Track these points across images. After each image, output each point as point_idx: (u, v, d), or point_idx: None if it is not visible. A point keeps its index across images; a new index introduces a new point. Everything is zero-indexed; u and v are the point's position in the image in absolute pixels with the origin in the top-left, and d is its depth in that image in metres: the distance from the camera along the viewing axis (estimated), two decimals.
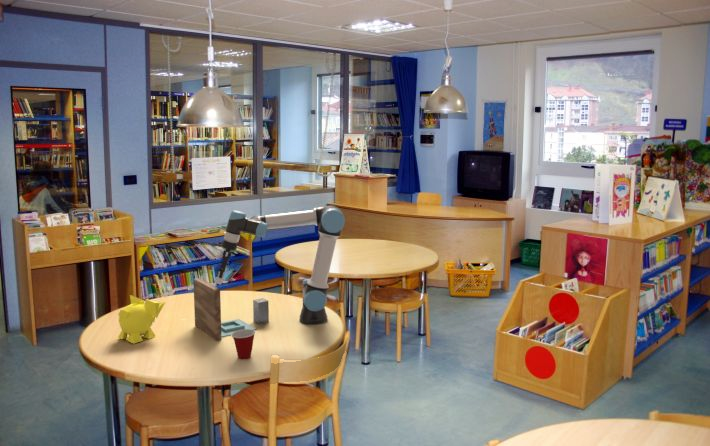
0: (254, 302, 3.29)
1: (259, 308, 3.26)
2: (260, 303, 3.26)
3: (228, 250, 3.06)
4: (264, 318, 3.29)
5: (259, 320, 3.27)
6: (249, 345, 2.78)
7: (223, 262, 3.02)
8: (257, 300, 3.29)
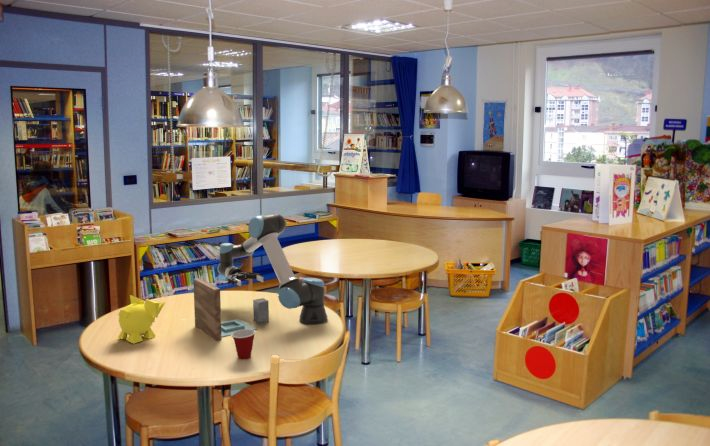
0: (254, 302, 3.29)
1: (259, 308, 3.26)
2: (260, 303, 3.26)
3: (231, 275, 3.46)
4: (264, 318, 3.29)
5: (259, 320, 3.27)
6: (249, 345, 2.78)
7: None
8: (257, 300, 3.29)
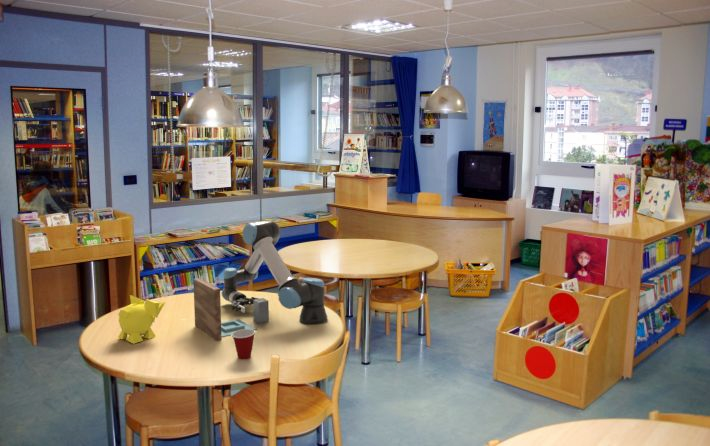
0: (254, 302, 3.29)
1: (259, 308, 3.26)
2: (260, 303, 3.26)
3: None
4: (264, 318, 3.29)
5: (259, 320, 3.27)
6: (249, 345, 2.78)
7: None
8: (257, 300, 3.29)
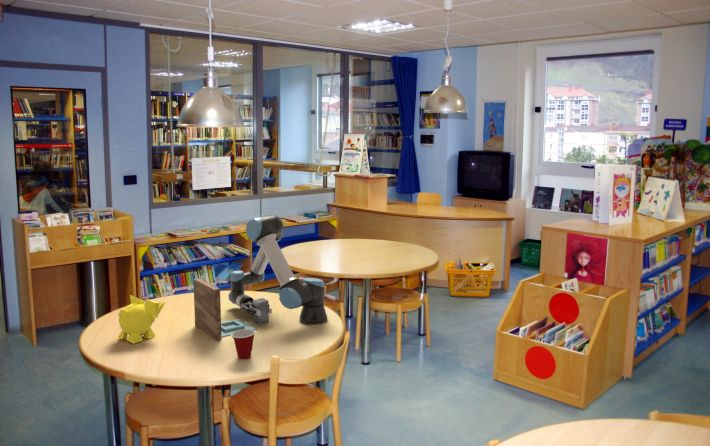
0: (254, 302, 3.29)
1: (259, 308, 3.26)
2: (260, 303, 3.26)
3: (242, 304, 3.38)
4: (264, 318, 3.29)
5: (259, 320, 3.27)
6: (249, 345, 2.78)
7: (244, 309, 3.32)
8: (257, 300, 3.29)
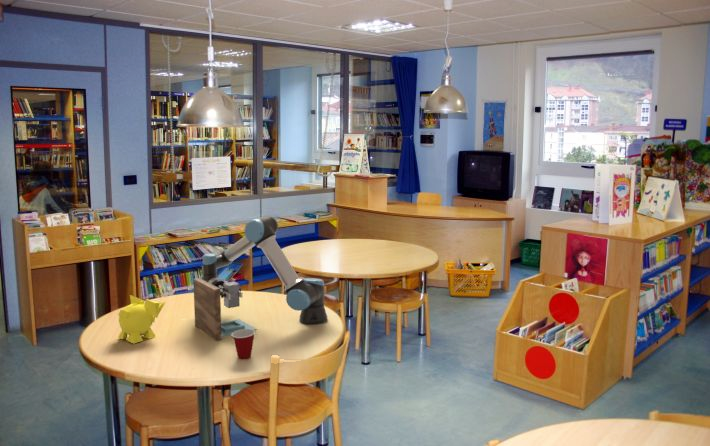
0: (224, 286, 3.18)
1: (229, 291, 3.15)
2: (230, 286, 3.15)
3: None
4: (234, 302, 3.18)
5: (229, 304, 3.16)
6: (249, 345, 2.78)
7: None
8: (227, 283, 3.18)
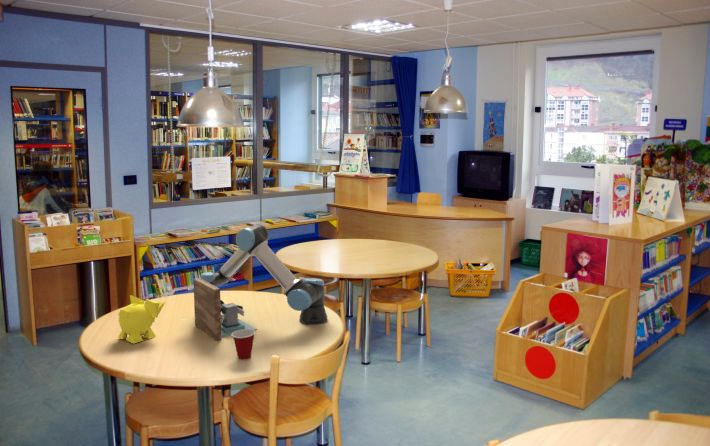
0: (223, 307, 3.18)
1: (228, 313, 3.16)
2: (229, 308, 3.15)
3: None
4: (233, 323, 3.18)
5: (228, 326, 3.17)
6: (249, 345, 2.78)
7: None
8: (226, 305, 3.18)
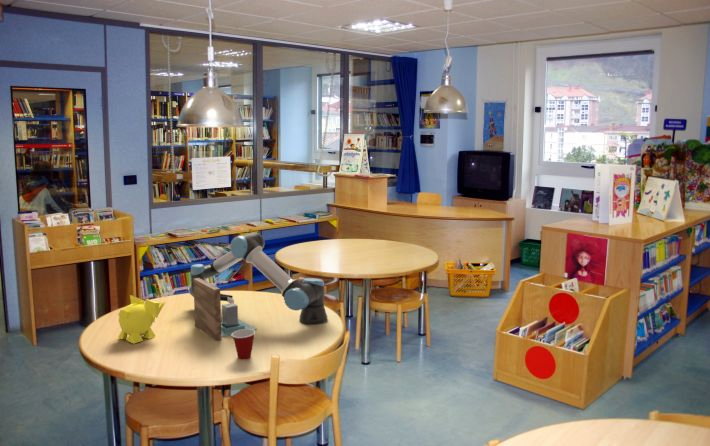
0: (223, 307, 3.18)
1: (228, 313, 3.16)
2: (229, 308, 3.15)
3: None
4: (233, 323, 3.18)
5: (228, 326, 3.17)
6: (249, 345, 2.78)
7: None
8: (226, 305, 3.18)
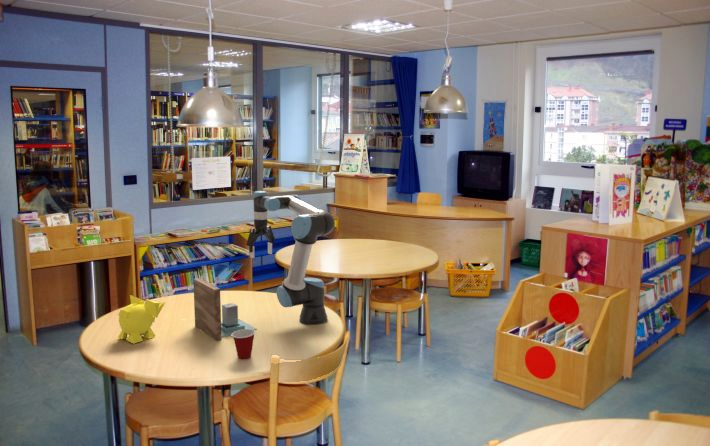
0: (223, 307, 3.18)
1: (228, 313, 3.16)
2: (229, 308, 3.15)
3: (256, 227, 3.41)
4: (233, 323, 3.18)
5: (228, 326, 3.17)
6: (249, 345, 2.78)
7: (249, 237, 3.39)
8: (226, 305, 3.18)
